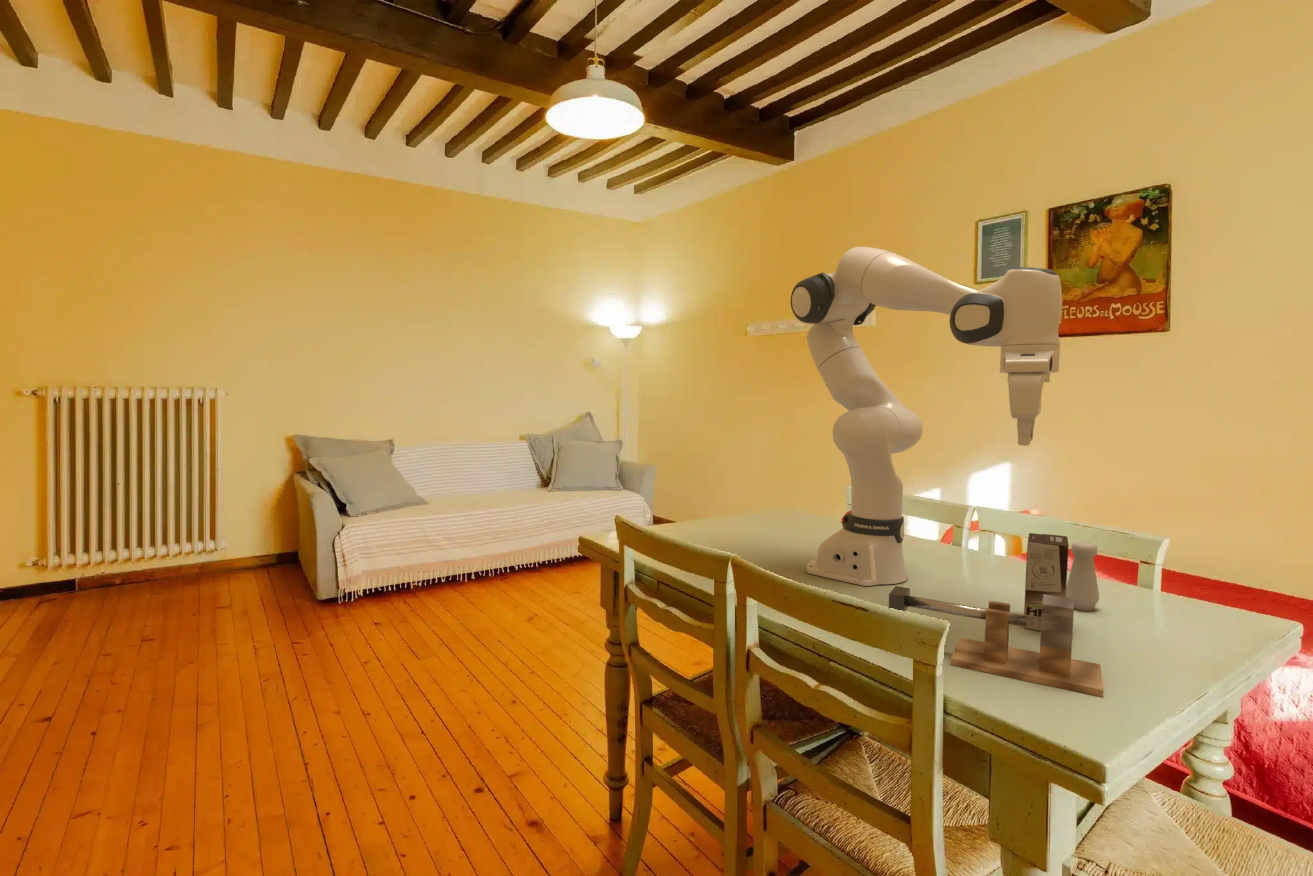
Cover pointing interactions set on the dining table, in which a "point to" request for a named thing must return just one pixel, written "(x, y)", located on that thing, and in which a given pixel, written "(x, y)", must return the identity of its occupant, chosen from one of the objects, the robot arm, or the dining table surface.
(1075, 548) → the salt shaker
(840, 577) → the robot arm
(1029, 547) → the coffee box
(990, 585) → the dining table surface
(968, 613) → the grey block-headed metal pin
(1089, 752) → the dining table surface
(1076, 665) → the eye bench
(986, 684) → the dining table surface
